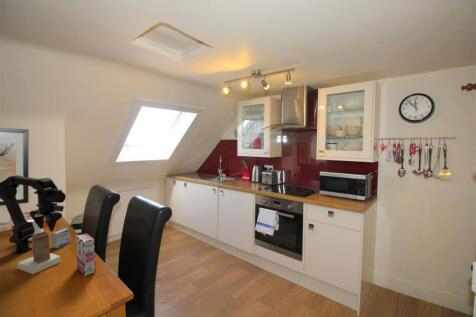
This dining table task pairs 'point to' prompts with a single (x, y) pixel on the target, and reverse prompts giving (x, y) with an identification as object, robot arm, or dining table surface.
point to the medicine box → (60, 238)
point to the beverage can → (37, 229)
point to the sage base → (33, 267)
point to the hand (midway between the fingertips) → (46, 230)
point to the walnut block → (41, 247)
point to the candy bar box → (85, 254)
